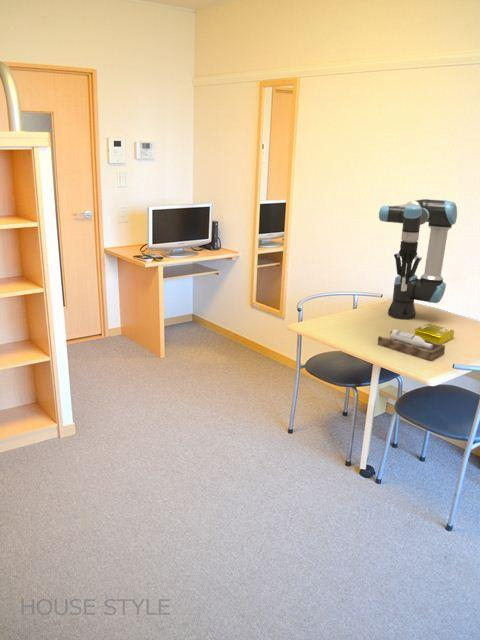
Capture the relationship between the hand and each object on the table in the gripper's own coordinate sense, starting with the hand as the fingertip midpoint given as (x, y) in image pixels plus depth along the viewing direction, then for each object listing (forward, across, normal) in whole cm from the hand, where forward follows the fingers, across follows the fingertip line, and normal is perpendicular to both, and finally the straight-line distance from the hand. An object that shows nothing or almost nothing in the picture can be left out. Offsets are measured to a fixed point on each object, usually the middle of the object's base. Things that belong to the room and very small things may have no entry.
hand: (403, 290), depth 254 cm
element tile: (+28, +8, +22) cm, 37 cm away
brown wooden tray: (+27, +7, -1) cm, 28 cm away
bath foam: (+23, -2, -1) cm, 23 cm away
